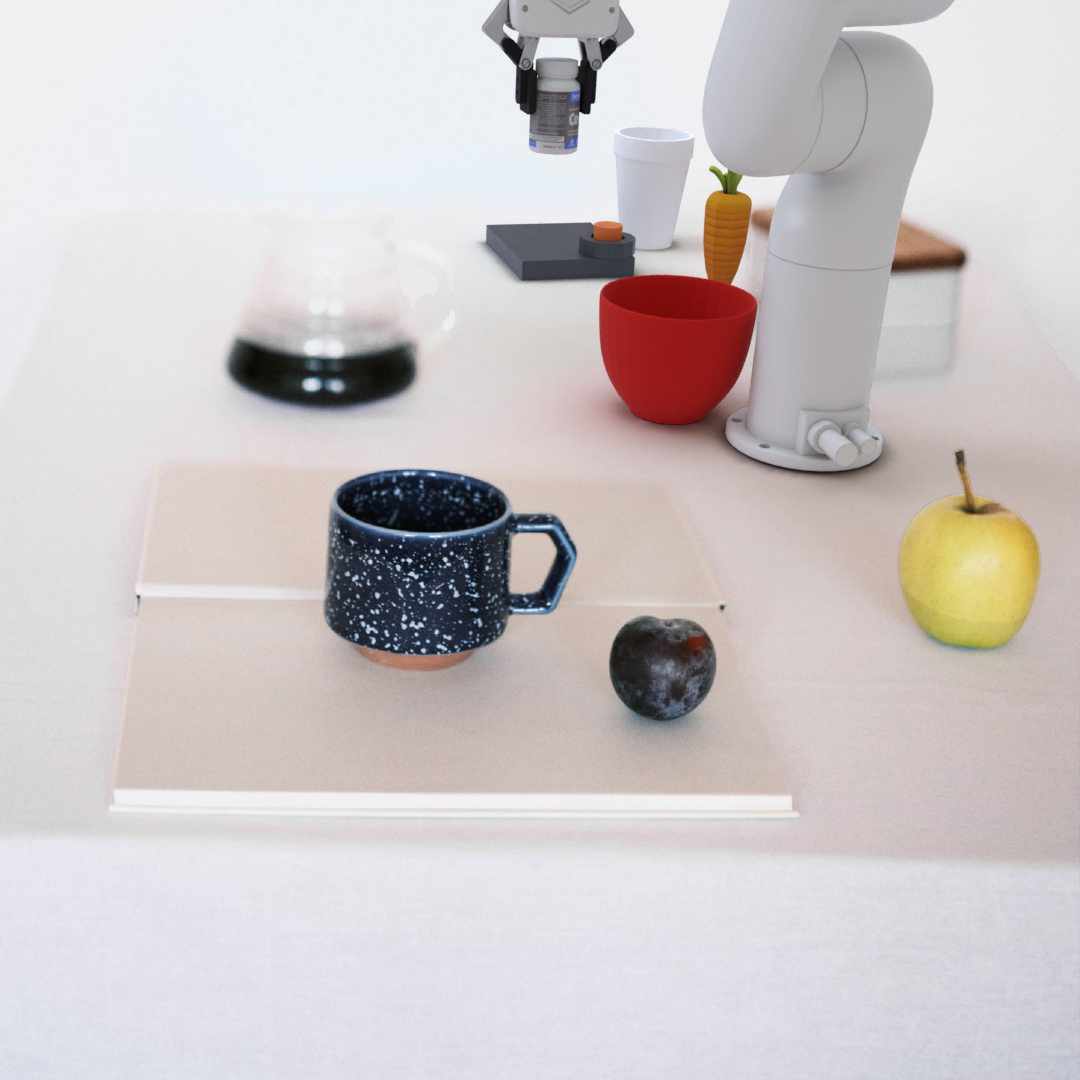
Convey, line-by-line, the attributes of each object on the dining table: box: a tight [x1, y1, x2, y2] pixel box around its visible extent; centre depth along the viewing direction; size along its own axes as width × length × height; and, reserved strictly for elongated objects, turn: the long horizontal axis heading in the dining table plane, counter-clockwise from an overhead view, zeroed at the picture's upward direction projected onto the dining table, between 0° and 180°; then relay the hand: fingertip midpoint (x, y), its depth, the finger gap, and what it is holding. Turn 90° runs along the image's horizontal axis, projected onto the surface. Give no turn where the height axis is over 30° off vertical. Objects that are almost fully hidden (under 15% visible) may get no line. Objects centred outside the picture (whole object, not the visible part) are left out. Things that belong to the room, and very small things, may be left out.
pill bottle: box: [528, 56, 581, 156], centre depth 131 cm, size 5×5×8 cm
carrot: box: [702, 165, 753, 285], centre depth 144 cm, size 5×5×15 cm
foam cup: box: [612, 125, 695, 251], centre depth 164 cm, size 10×9×13 cm
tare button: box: [593, 220, 623, 241], centre depth 153 cm, size 3×3×2 cm
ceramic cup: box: [598, 274, 758, 425], centre depth 117 cm, size 13×17×10 cm
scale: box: [485, 221, 636, 282], centre depth 158 cm, size 16×14×4 cm
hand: (554, 110), depth 131 cm, fingers closed on pill bottle, 4 cm apart
